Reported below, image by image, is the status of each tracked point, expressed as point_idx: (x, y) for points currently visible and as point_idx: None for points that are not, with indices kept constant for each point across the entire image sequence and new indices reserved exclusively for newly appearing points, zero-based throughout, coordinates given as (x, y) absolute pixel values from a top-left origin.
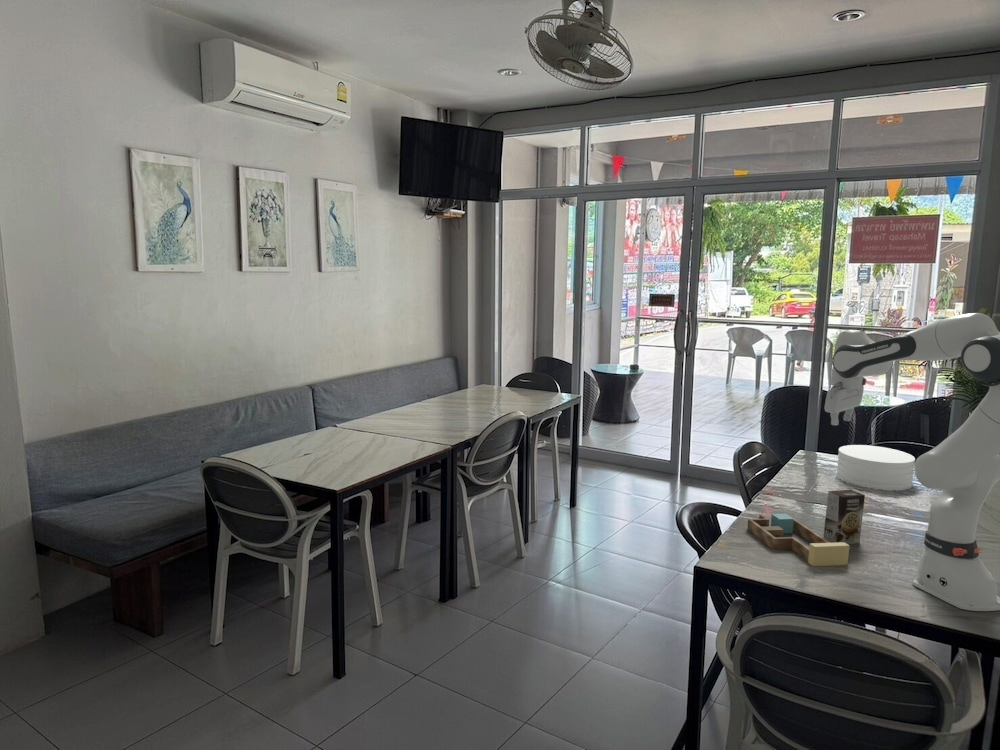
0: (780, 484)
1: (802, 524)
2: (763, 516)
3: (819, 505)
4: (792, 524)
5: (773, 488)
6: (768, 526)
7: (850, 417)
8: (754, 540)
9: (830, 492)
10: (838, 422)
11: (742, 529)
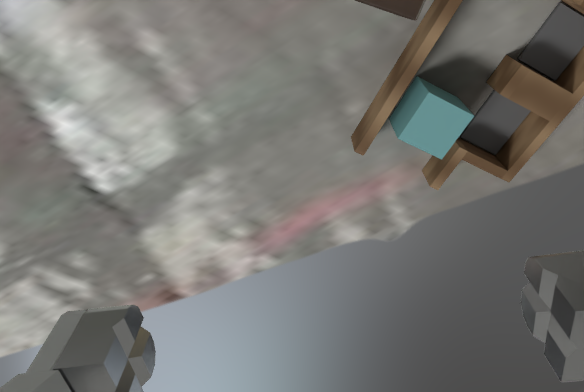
0: None
1: (415, 60)
2: (446, 172)
3: (103, 176)
4: (426, 86)
5: None
6: None
7: (58, 344)
8: None
9: (424, 2)
10: (560, 276)
11: None
